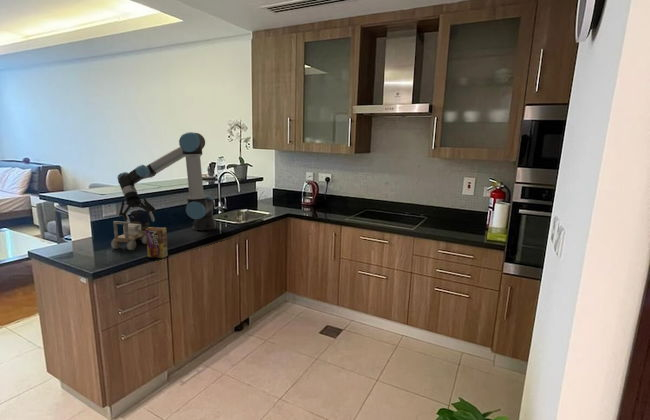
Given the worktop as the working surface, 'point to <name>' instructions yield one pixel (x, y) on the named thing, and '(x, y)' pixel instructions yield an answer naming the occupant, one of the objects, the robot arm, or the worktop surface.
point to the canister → (140, 219)
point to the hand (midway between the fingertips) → (141, 222)
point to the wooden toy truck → (128, 235)
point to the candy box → (156, 242)
